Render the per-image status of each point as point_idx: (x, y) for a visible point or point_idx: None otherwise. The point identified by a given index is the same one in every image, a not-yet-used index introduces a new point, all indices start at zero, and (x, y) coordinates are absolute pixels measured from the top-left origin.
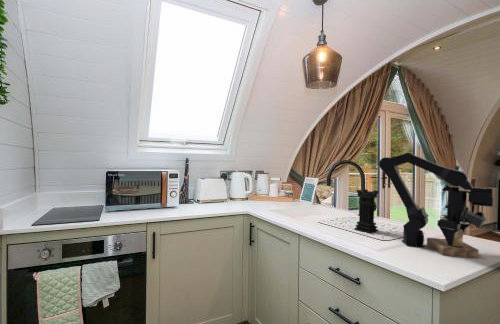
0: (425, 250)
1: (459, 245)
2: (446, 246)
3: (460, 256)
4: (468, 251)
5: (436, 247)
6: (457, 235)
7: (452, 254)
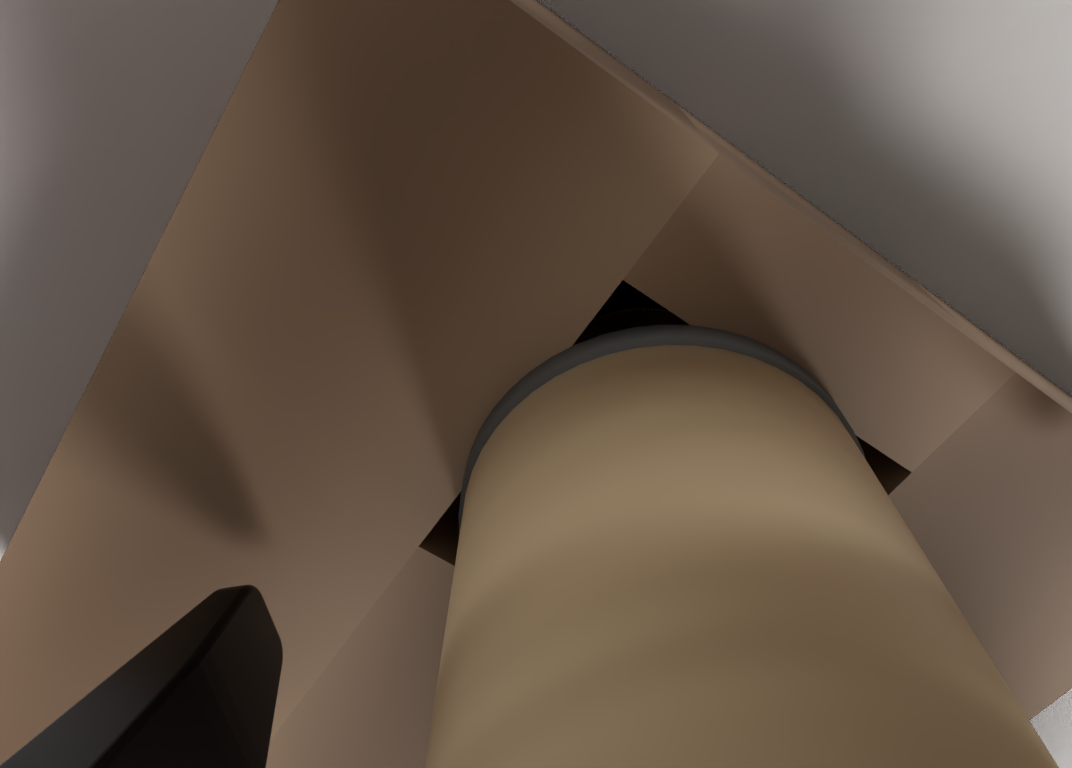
0: (1057, 705)
1: (782, 380)
2: (1038, 550)
3: (788, 188)
4: (648, 94)
5: None
6: (1027, 737)
7: (958, 313)
